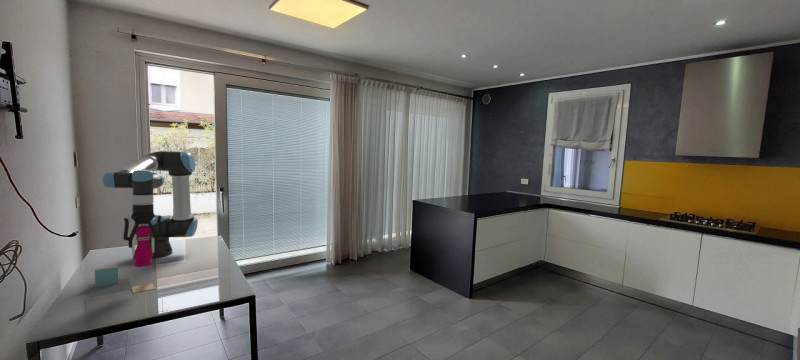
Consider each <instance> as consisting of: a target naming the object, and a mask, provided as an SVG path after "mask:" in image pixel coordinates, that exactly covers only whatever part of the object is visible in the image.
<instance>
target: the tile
mask: <svg viewBox="0 0 800 360" xmlns="http://www.w3.org/2000/svg"><path fill="white" fill-rule="evenodd" d="M118 280H119V266H118V265H112V266H107V267H101V268H95V269H94V284H95V287H99V286H105V285H110V284H116V283H118Z"/></svg>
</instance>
